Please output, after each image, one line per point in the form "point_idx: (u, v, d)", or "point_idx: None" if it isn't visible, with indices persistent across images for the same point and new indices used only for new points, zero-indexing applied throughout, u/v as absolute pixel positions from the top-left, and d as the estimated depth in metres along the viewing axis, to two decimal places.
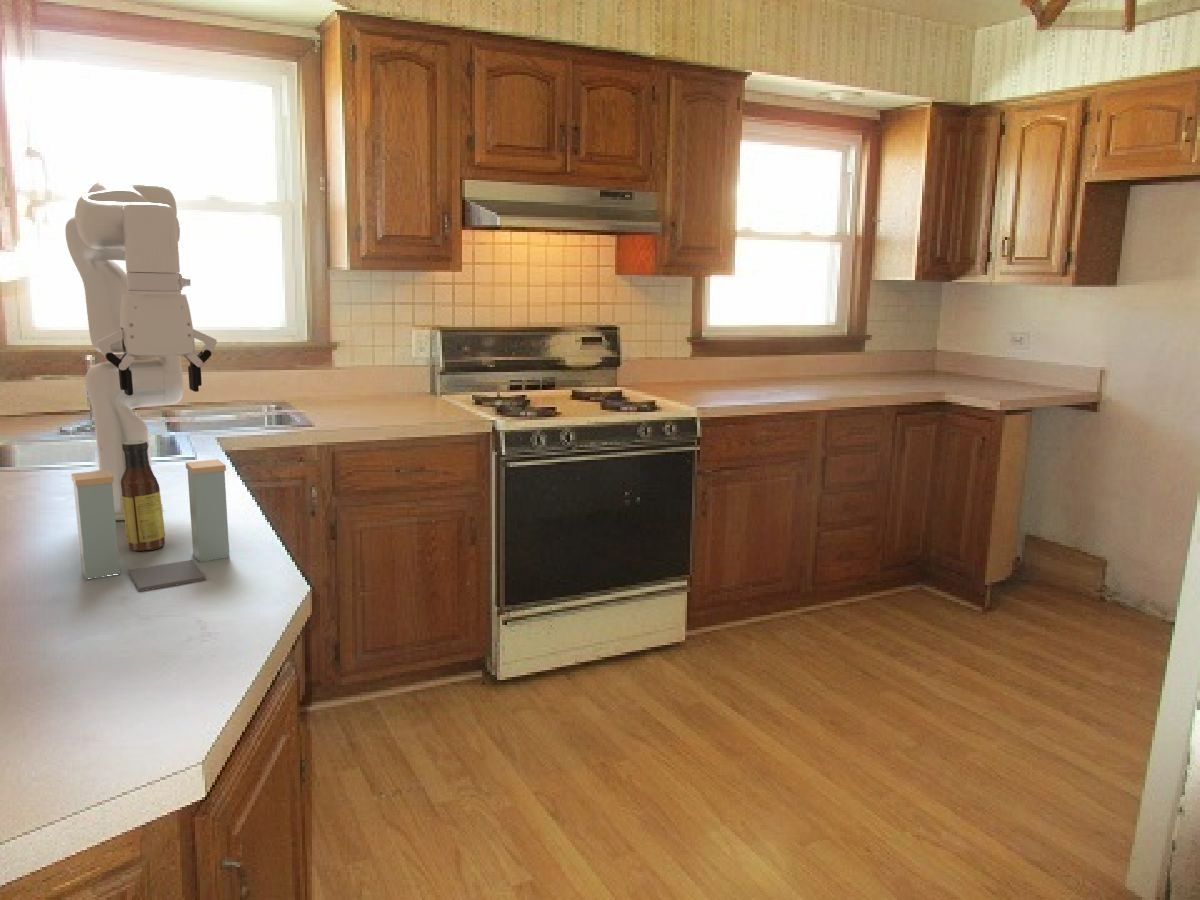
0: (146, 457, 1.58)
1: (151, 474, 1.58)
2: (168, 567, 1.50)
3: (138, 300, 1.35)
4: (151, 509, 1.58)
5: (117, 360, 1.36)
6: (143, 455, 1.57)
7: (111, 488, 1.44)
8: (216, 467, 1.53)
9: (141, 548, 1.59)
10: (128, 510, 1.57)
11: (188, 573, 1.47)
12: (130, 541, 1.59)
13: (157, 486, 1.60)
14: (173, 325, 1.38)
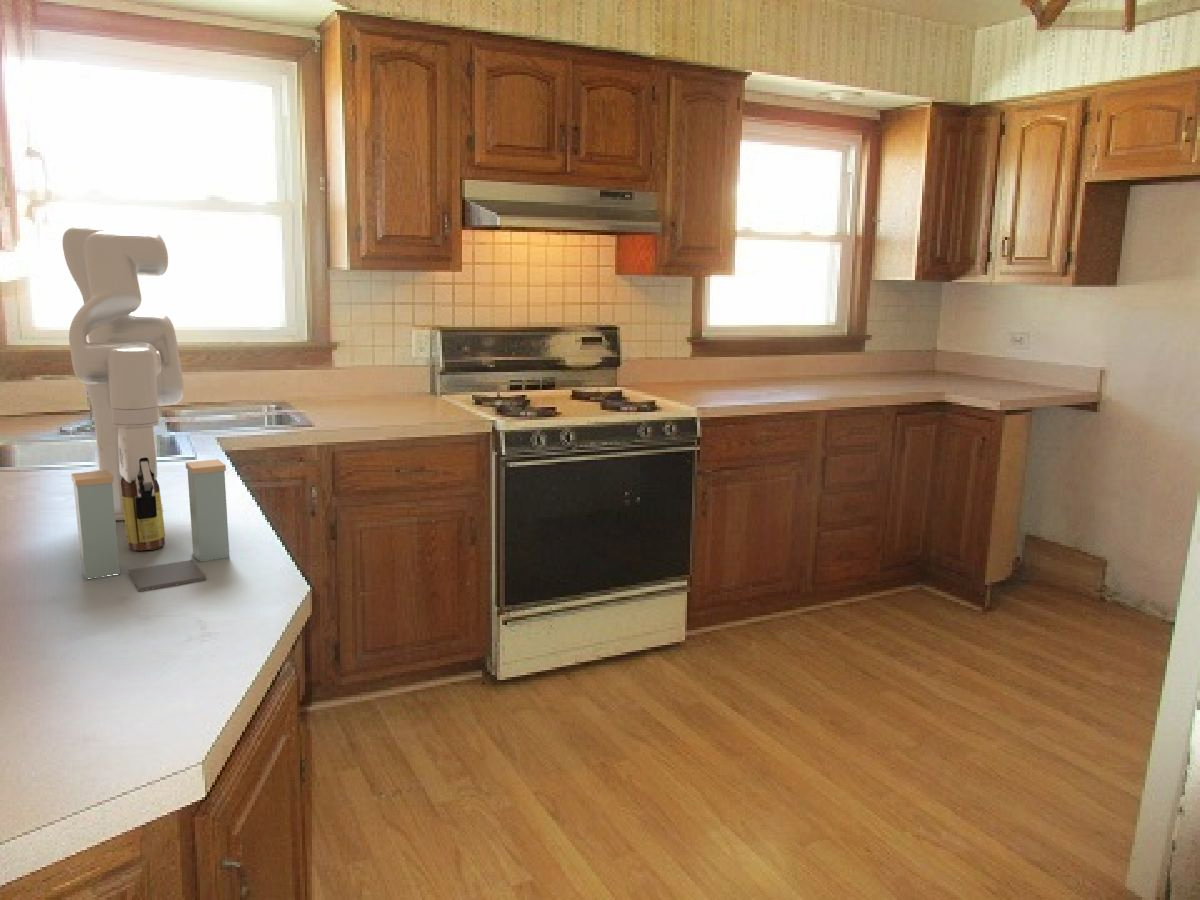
0: None
1: None
2: (168, 567, 1.50)
3: (153, 431, 1.56)
4: None
5: None
6: None
7: (111, 488, 1.44)
8: (216, 467, 1.53)
9: (141, 548, 1.59)
10: (128, 510, 1.57)
11: (188, 573, 1.47)
12: (130, 541, 1.59)
13: (157, 486, 1.60)
14: None
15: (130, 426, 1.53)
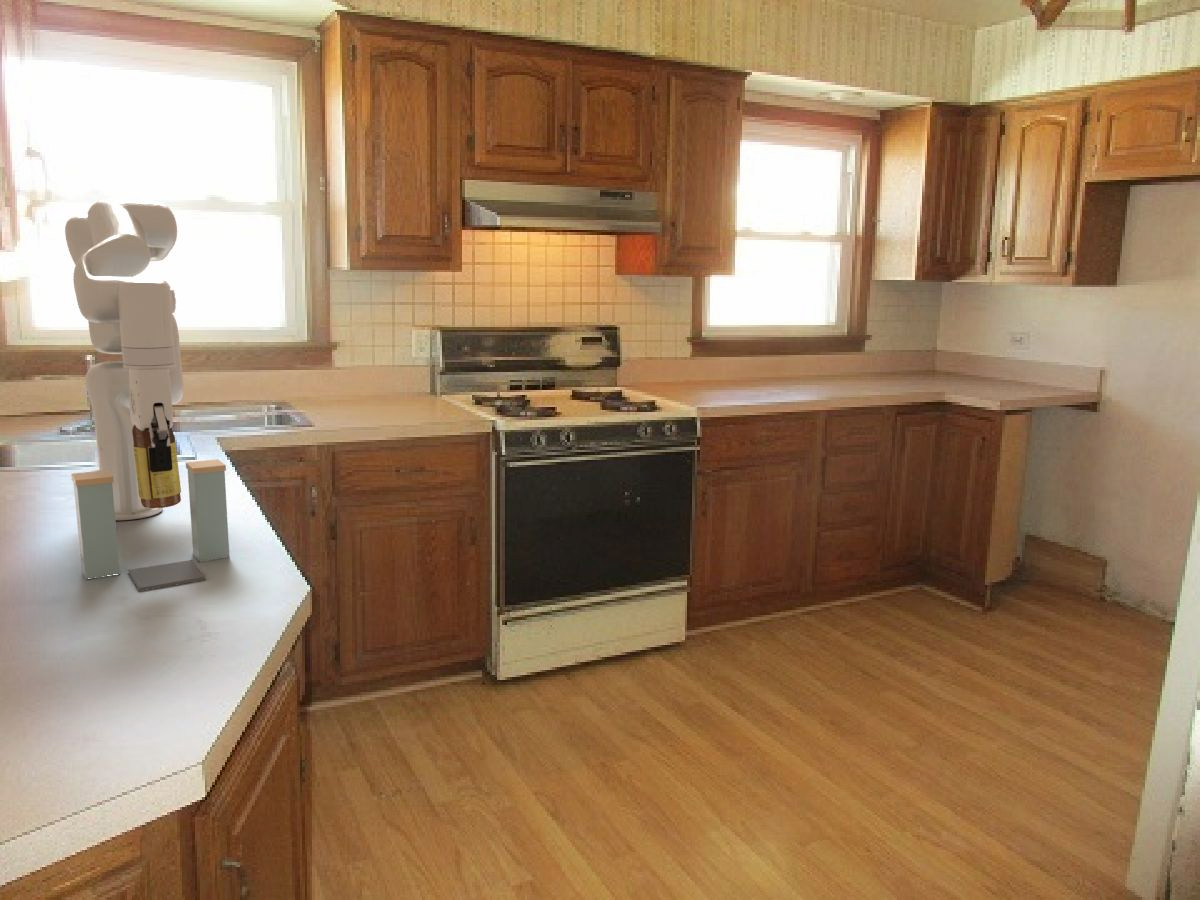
0: None
1: None
2: (168, 567, 1.50)
3: None
4: None
5: None
6: None
7: (111, 488, 1.44)
8: (216, 467, 1.53)
9: (154, 505, 1.43)
10: (141, 462, 1.41)
11: (188, 573, 1.47)
12: (143, 497, 1.43)
13: (172, 436, 1.44)
14: None
15: (143, 367, 1.38)
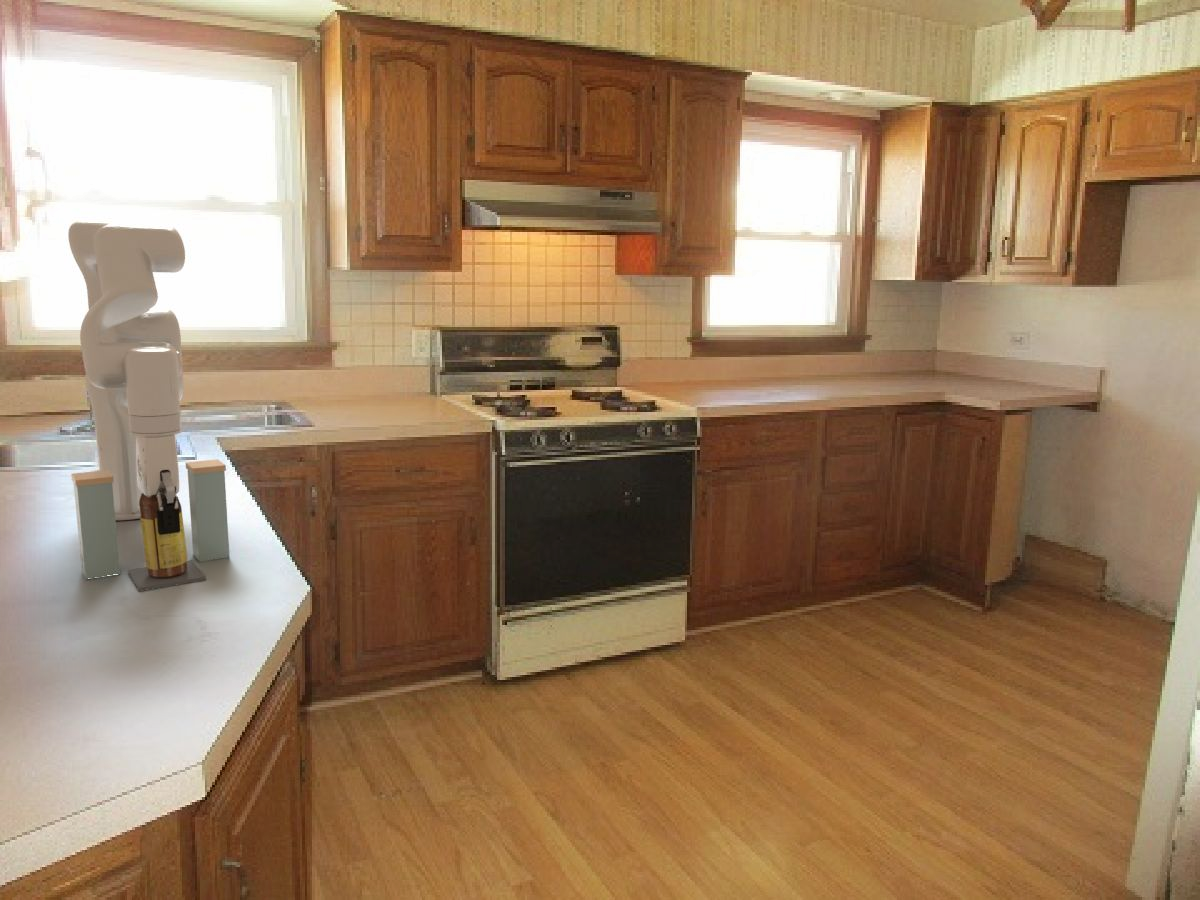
0: None
1: None
2: None
3: (175, 440, 1.41)
4: None
5: None
6: None
7: (111, 488, 1.44)
8: (216, 467, 1.53)
9: (161, 575, 1.44)
10: (148, 533, 1.42)
11: (188, 573, 1.47)
12: (150, 567, 1.44)
13: (179, 506, 1.45)
14: None
15: (150, 435, 1.39)
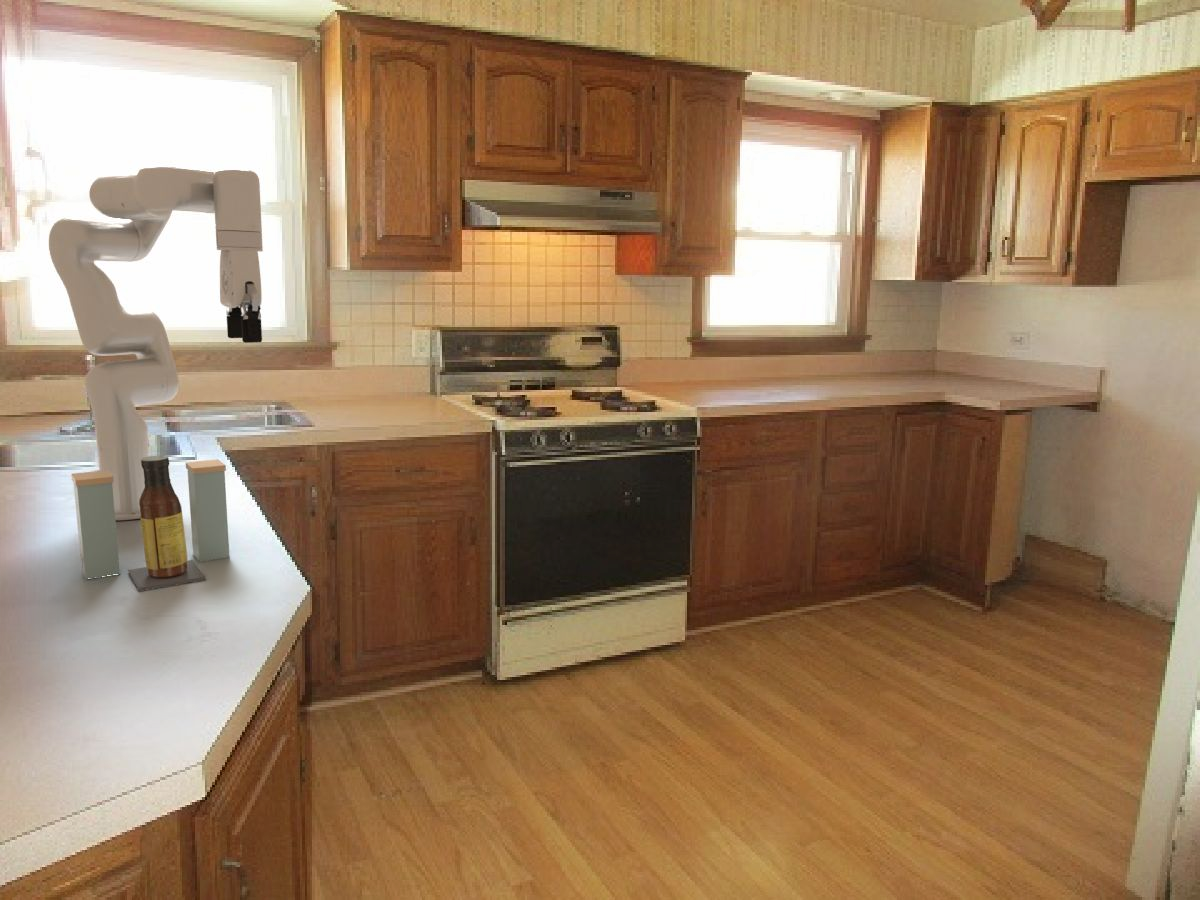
0: (167, 474, 1.44)
1: (173, 493, 1.44)
2: None
3: None
4: (173, 532, 1.44)
5: None
6: (163, 473, 1.43)
7: (111, 488, 1.44)
8: (216, 467, 1.53)
9: (161, 575, 1.44)
10: (148, 533, 1.43)
11: (188, 573, 1.47)
12: (150, 567, 1.44)
13: (179, 506, 1.45)
14: None
15: (236, 248, 1.51)
